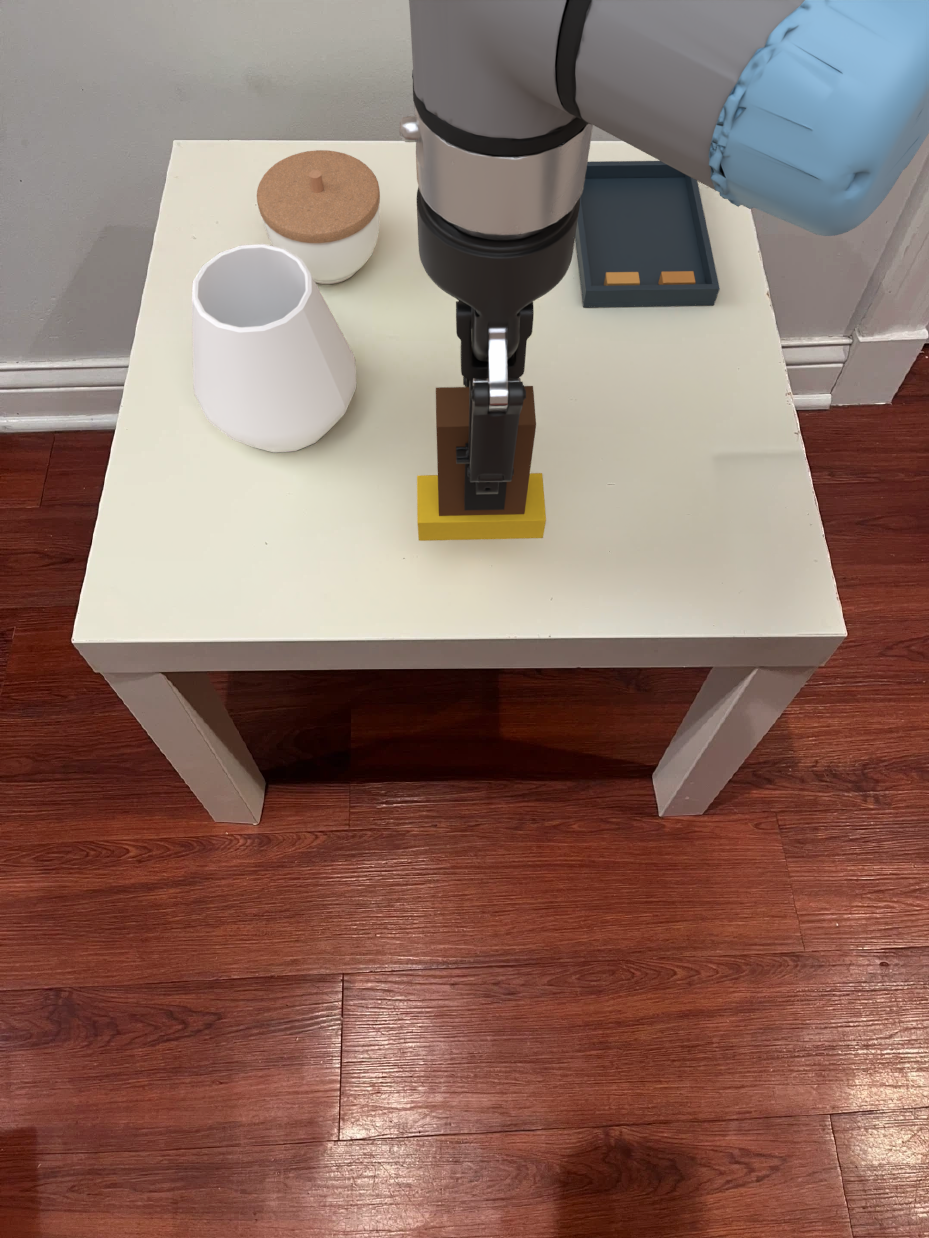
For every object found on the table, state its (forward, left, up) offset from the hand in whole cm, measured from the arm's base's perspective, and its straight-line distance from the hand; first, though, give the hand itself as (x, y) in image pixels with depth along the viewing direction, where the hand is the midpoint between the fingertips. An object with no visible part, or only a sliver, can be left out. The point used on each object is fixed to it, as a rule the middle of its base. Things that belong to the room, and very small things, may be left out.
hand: (483, 482), depth 62 cm
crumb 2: (+1, -34, -10) cm, 35 cm away
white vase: (+22, -2, -11) cm, 25 cm away
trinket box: (+30, -18, -11) cm, 37 cm away
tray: (+8, -38, -11) cm, 40 cm away
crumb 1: (+6, -31, -10) cm, 33 cm away
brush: (0, 0, -4) cm, 4 cm away
